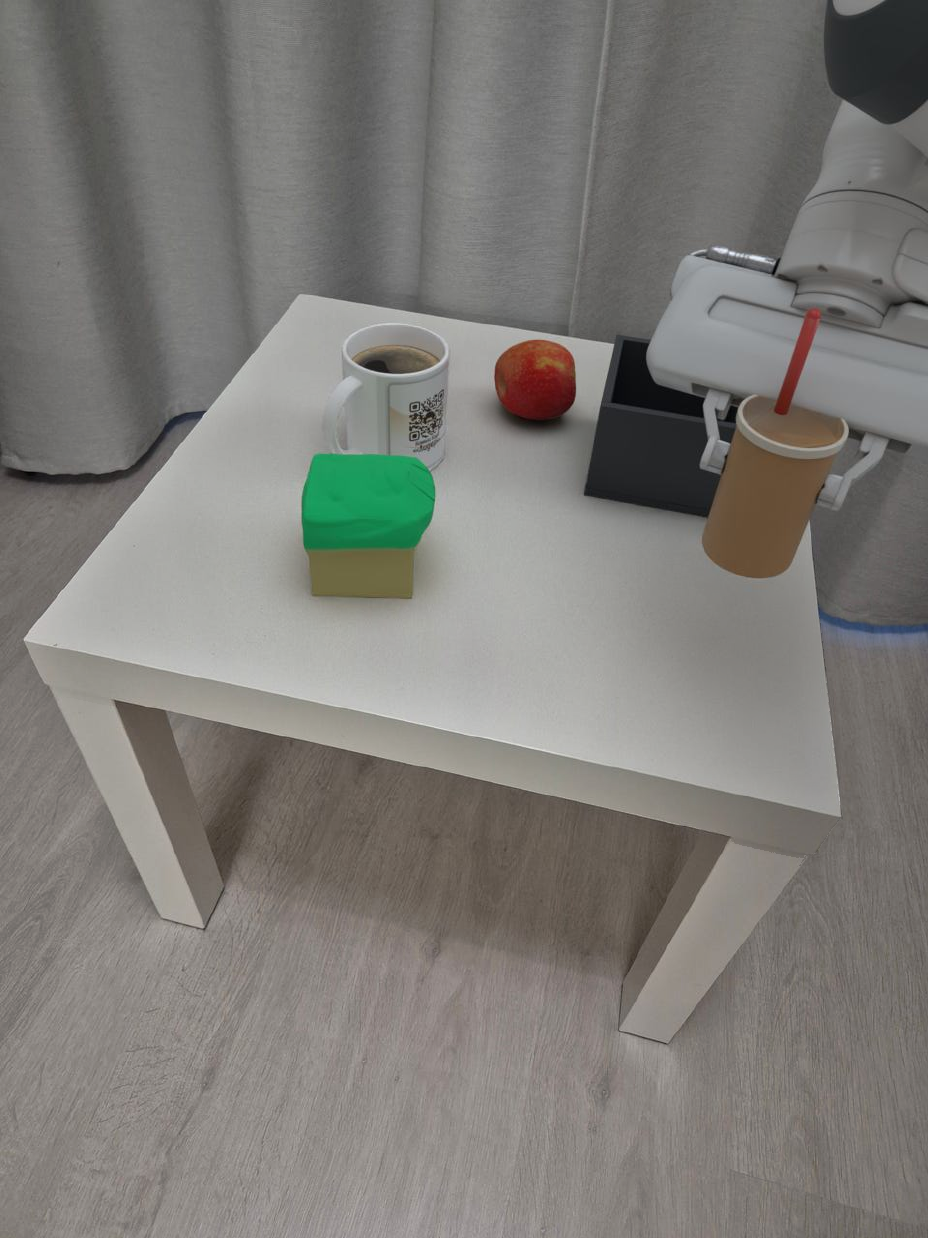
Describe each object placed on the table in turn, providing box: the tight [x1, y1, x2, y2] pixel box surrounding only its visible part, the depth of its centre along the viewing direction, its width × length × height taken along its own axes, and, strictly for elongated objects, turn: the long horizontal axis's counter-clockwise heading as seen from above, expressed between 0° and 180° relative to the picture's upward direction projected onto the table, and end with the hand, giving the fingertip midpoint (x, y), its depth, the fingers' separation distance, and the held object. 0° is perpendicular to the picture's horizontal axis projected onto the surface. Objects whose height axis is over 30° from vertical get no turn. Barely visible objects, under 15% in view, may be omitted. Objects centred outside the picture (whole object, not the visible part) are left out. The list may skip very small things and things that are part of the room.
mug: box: [322, 322, 450, 472], centre depth 83 cm, size 10×12×11 cm
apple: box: [493, 339, 577, 421], centre depth 91 cm, size 8×8×8 cm
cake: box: [300, 452, 436, 599], centre depth 72 cm, size 10×11×10 cm
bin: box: [583, 334, 738, 518], centre depth 84 cm, size 14×14×10 cm
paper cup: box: [701, 308, 849, 579], centre depth 53 cm, size 6×6×16 cm
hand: (768, 488), depth 55 cm, fingers closed on paper cup, 6 cm apart
